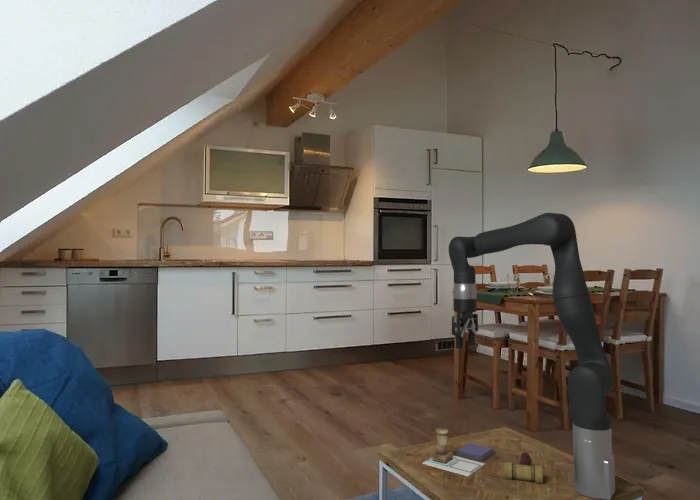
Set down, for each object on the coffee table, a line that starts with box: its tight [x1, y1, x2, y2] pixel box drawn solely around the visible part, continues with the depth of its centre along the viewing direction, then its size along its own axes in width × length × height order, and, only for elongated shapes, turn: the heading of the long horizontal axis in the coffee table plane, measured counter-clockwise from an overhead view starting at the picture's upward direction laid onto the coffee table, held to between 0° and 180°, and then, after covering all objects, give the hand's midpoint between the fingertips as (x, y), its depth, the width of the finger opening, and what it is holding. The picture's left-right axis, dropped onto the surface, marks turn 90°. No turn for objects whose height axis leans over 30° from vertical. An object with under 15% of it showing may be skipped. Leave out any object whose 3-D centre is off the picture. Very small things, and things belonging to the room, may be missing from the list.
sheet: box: [422, 454, 486, 477], centre depth 151 cm, size 15×11×1 cm
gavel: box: [503, 452, 544, 484], centre depth 148 cm, size 21×5×10 cm
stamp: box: [431, 427, 453, 464], centre depth 154 cm, size 4×4×9 cm
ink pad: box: [455, 442, 496, 463], centre depth 159 cm, size 9×9×2 cm
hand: (465, 346), depth 165 cm, fingers open, 8 cm apart
